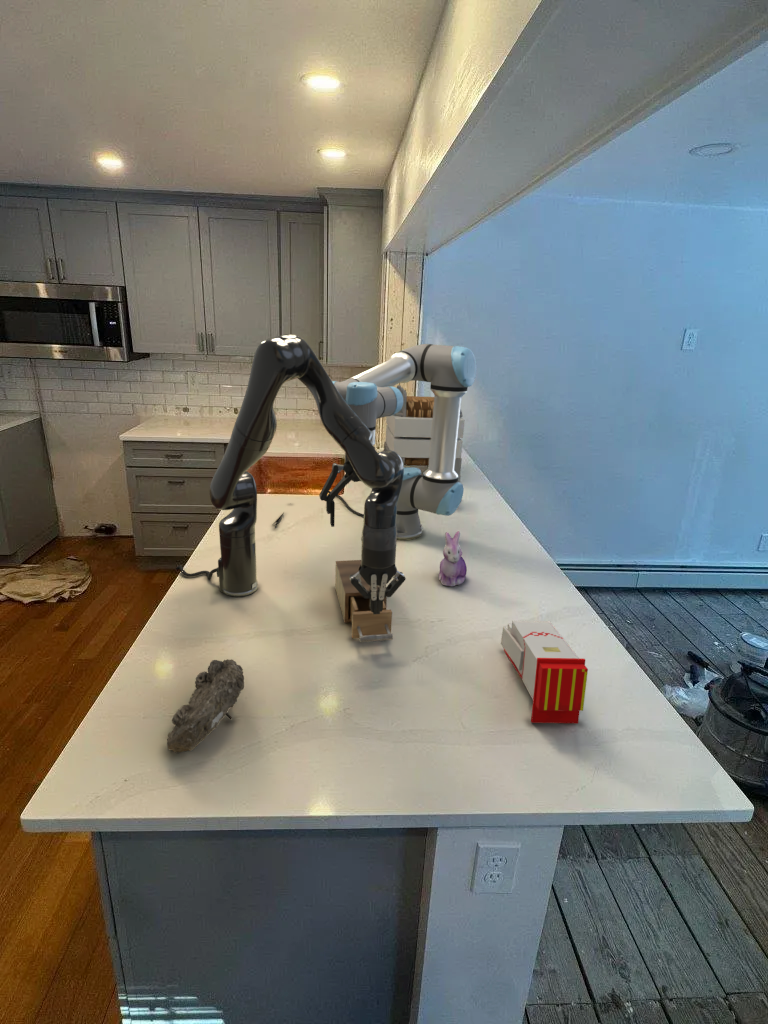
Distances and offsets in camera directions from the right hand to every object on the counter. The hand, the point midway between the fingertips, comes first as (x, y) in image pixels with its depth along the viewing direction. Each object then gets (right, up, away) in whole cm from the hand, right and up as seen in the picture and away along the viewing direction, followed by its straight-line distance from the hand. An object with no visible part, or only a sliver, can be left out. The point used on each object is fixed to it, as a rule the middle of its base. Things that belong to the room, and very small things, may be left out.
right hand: (357, 524), depth 150 cm
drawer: (+3, -25, -9) cm, 26 cm away
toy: (+40, -33, -27) cm, 58 cm away
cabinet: (0, -21, +2) cm, 21 cm away
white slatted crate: (+24, +22, +125) cm, 129 cm away
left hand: (+5, -20, -21) cm, 29 cm away
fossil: (-26, -36, -42) cm, 61 cm away
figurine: (+27, -17, +17) cm, 36 cm away
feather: (-31, +2, +61) cm, 69 cm away
